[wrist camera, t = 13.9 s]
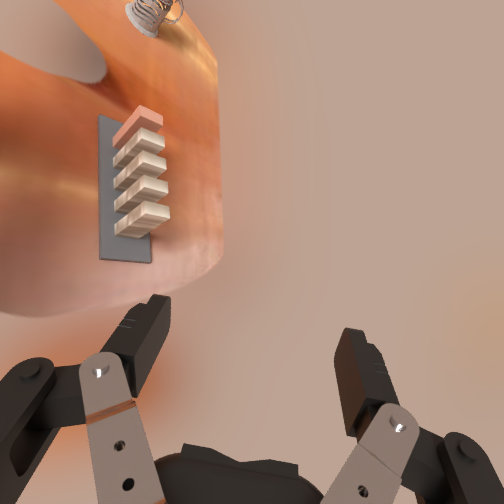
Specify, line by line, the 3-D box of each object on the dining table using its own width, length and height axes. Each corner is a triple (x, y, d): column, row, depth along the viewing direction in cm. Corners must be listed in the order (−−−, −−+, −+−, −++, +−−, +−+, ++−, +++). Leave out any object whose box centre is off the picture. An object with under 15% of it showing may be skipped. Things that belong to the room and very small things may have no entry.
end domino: (134, 154, 69) (163, 125, 61) (112, 147, 65) (140, 115, 57) (133, 145, 69) (162, 115, 62) (112, 137, 66) (139, 104, 58)
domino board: (99, 259, 57) (101, 257, 57) (97, 116, 66) (99, 114, 65) (148, 263, 64) (151, 262, 64) (141, 134, 73) (143, 132, 72)
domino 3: (137, 216, 65) (168, 193, 57) (114, 212, 61) (144, 186, 53) (136, 206, 65) (167, 181, 58) (114, 201, 62) (143, 174, 54)
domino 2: (136, 195, 66) (166, 169, 58) (113, 189, 62) (143, 161, 55) (135, 185, 67) (165, 158, 59) (113, 179, 63) (142, 150, 55)
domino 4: (138, 239, 63) (170, 218, 56) (114, 235, 60) (145, 213, 52) (137, 228, 64) (169, 206, 56) (114, 224, 60) (144, 200, 53)
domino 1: (135, 174, 67) (164, 147, 60) (113, 168, 64) (141, 138, 56) (134, 165, 68) (163, 136, 60) (113, 158, 64) (141, 127, 57)
